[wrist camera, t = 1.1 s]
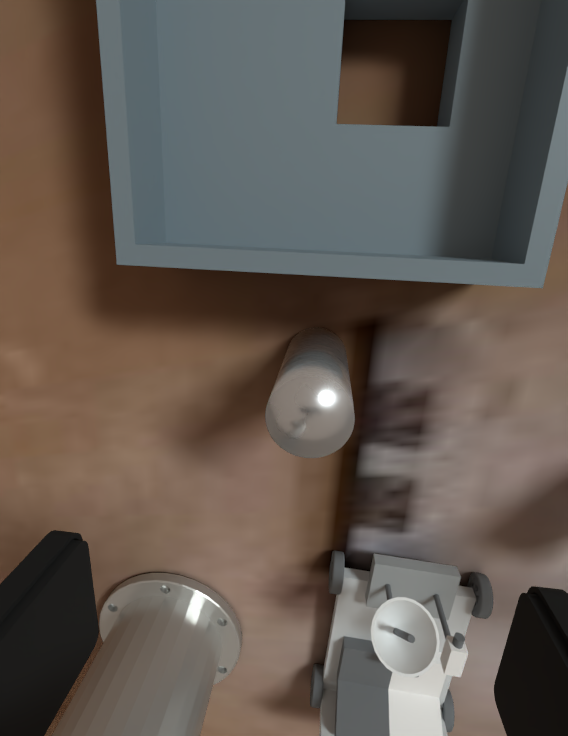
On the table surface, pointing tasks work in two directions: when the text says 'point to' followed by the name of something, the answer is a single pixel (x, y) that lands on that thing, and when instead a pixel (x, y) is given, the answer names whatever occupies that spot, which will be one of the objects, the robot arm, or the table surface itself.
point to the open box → (333, 142)
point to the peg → (312, 396)
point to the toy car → (395, 647)
